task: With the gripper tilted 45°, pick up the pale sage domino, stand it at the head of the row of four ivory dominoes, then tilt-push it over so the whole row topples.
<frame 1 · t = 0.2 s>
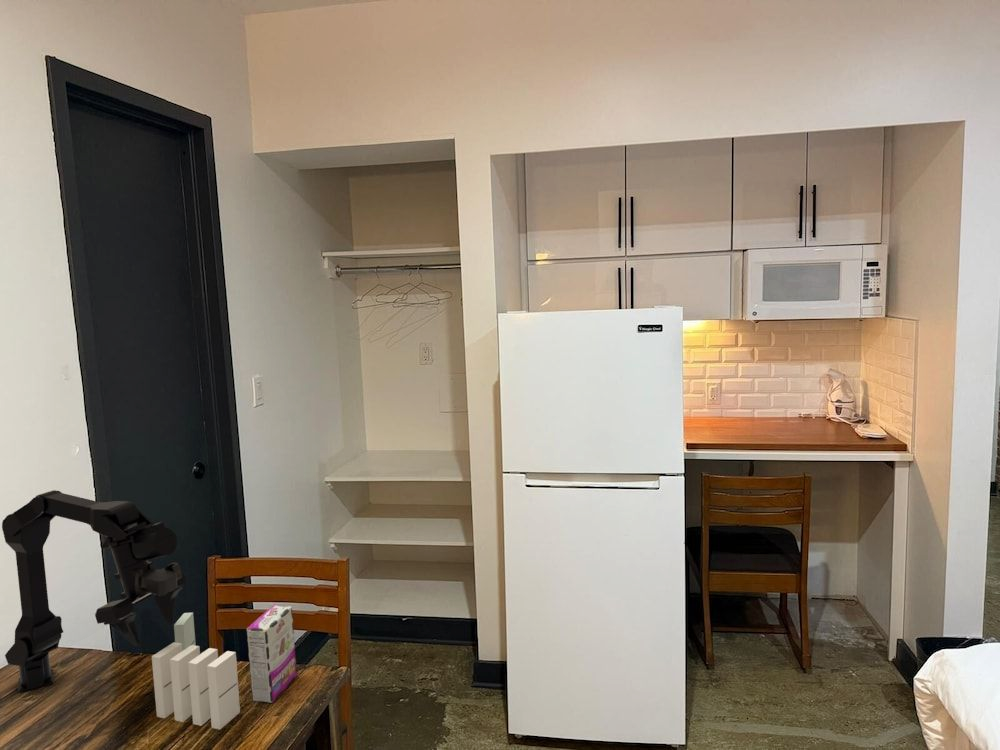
hand: (154, 635, 146), 15 cm above the table, tool tilted 15°, fingers open, 9 cm apart
candy bar box: (274, 689, 153), on the table
ivory domino 1: (171, 709, 146), on the table
ivory domino 2: (189, 712, 145), on the table
ivory domino 3: (207, 716, 143), on the table
ivory domino 4: (226, 719, 142), on the table
sage domino: (188, 673, 160), on the table
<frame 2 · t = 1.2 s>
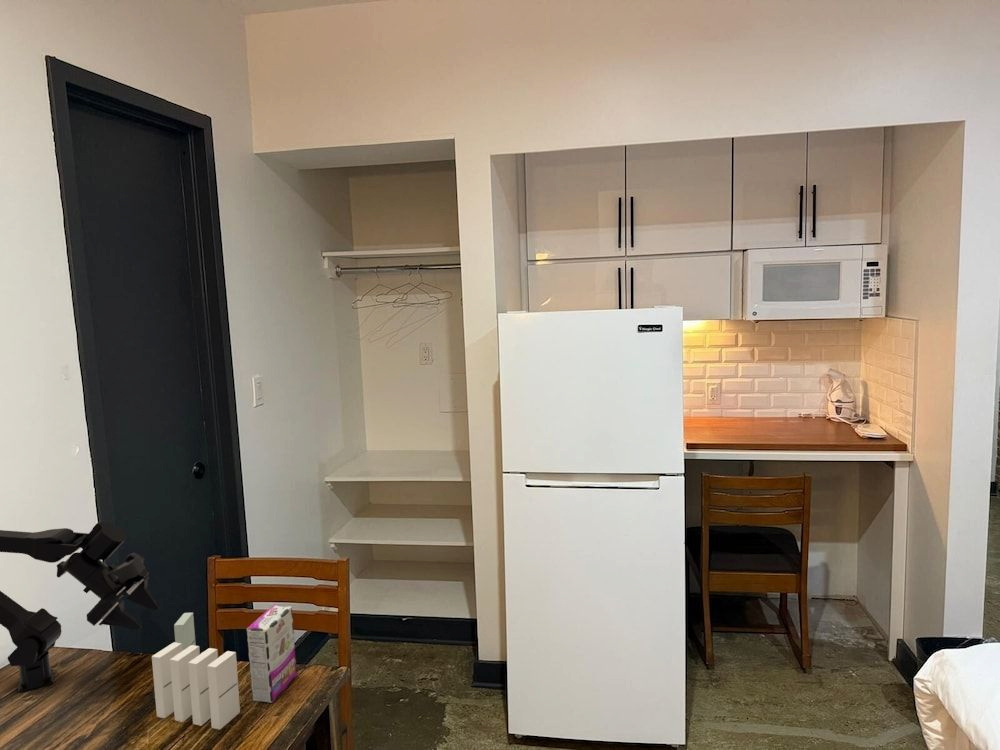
hand: (148, 618, 158), 13 cm above the table, tool tilted 45°, fingers open, 9 cm apart
nothing on the table moved.
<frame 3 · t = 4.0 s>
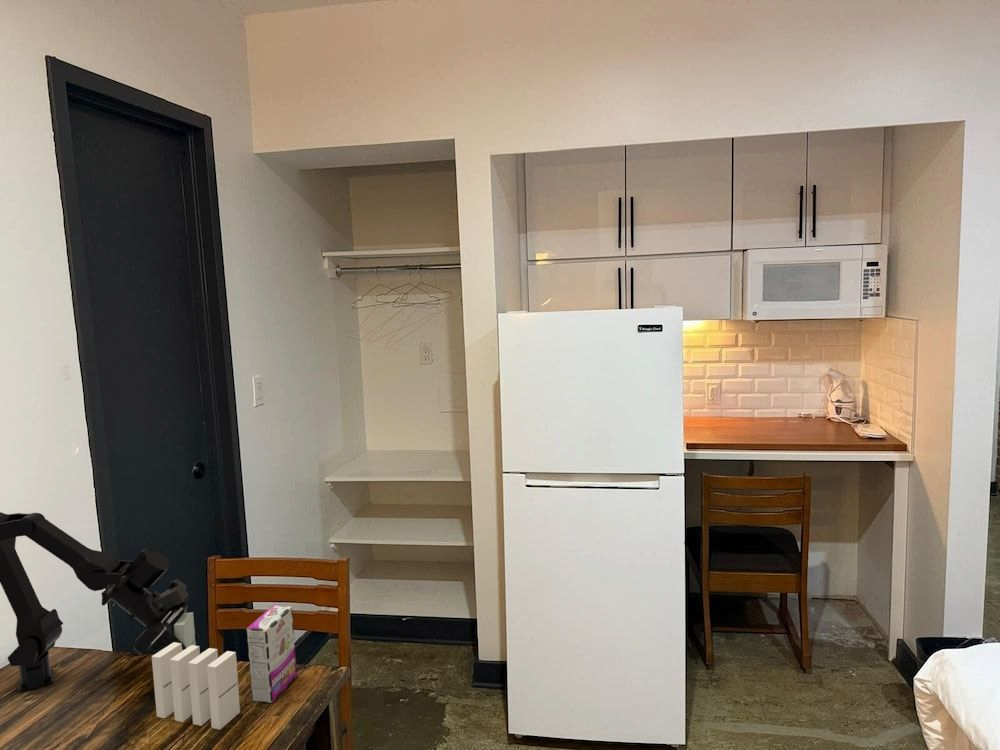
hand: (192, 645, 159), 7 cm above the table, tool tilted 45°, fingers closed on sage domino, 6 cm apart
sage domino: (188, 673, 160), on the table, touching gripper
everything else where it was.
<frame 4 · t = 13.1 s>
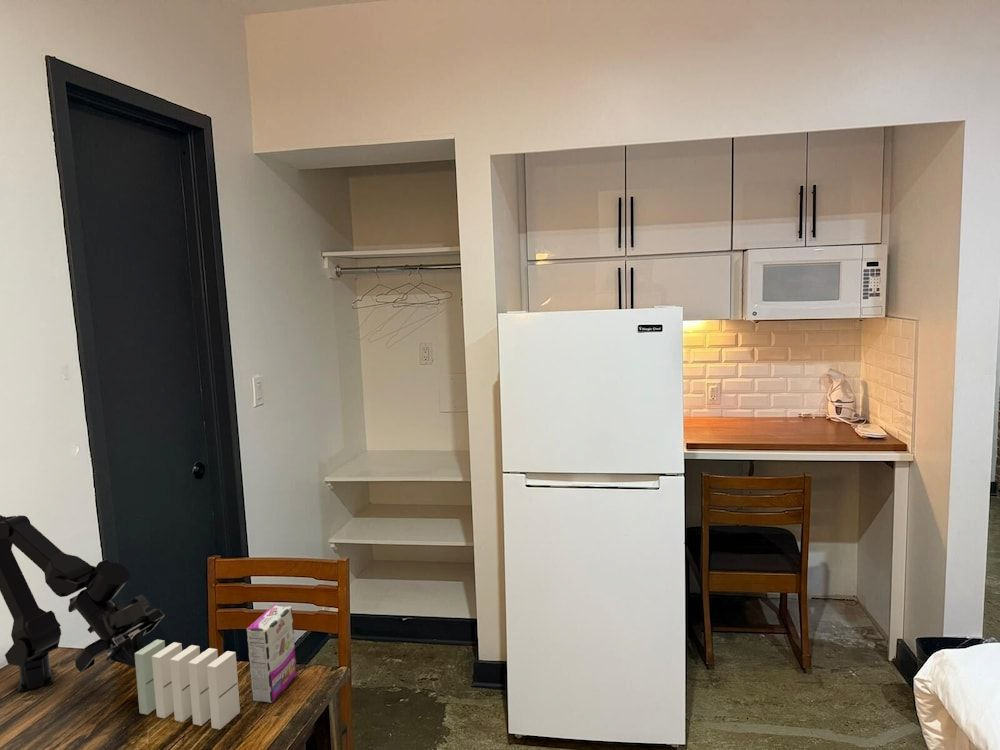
hand: (146, 669, 147), 8 cm above the table, tool tilted 45°, fingers closed, pressing on sage domino
sage domino: (154, 705, 147), on the table, touching gripper
everything else where it was.
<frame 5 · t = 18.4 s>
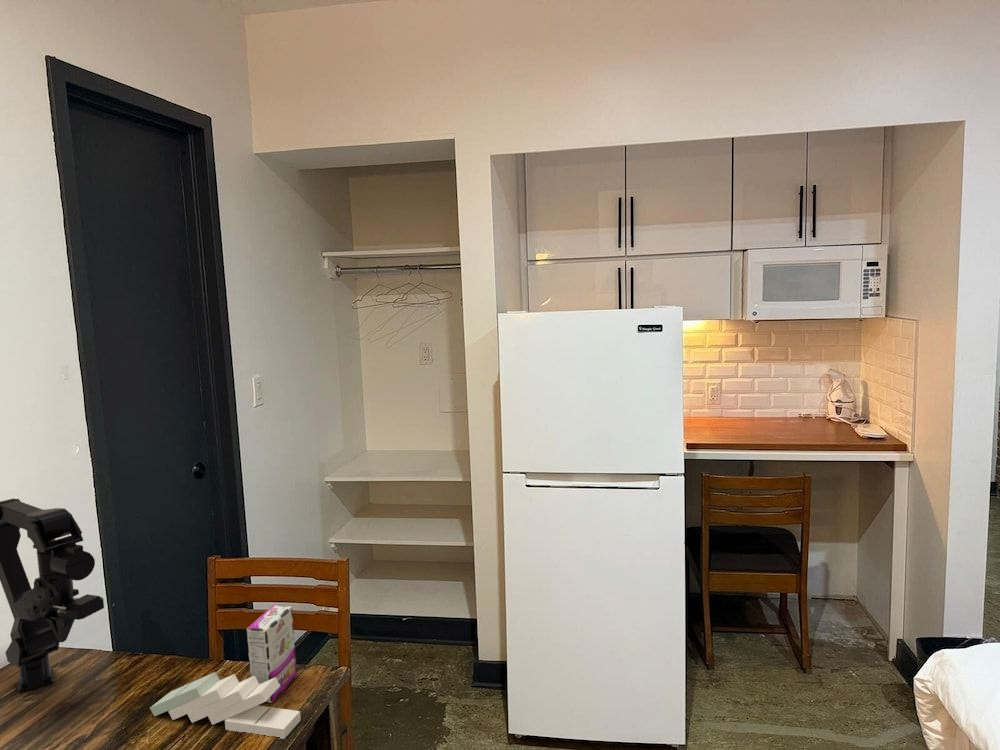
hand: (62, 641, 149), 13 cm above the table, tool pointing down, fingers closed
ivory domino 1: (180, 707, 145), point 1 cm above the table, tilted 62°, touching ivory domino 2, sage domino
ivory domino 2: (198, 710, 144), point 1 cm above the table, tilted 63°, touching ivory domino 1, ivory domino 3
ivory domino 3: (218, 712, 143), point 1 cm above the table, tilted 64°, touching ivory domino 2
ivory domino 4: (234, 716, 141), point 1 cm above the table, tilted 90°
sage domino: (162, 703, 146), point 1 cm above the table, tilted 63°, touching ivory domino 1
everything else where it was.
at the end: ivory domino 4 tilted 90°; sage domino tilted 63°; sage domino inside the target area (2.0 cm from its centre), point 0.9 cm above the table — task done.
